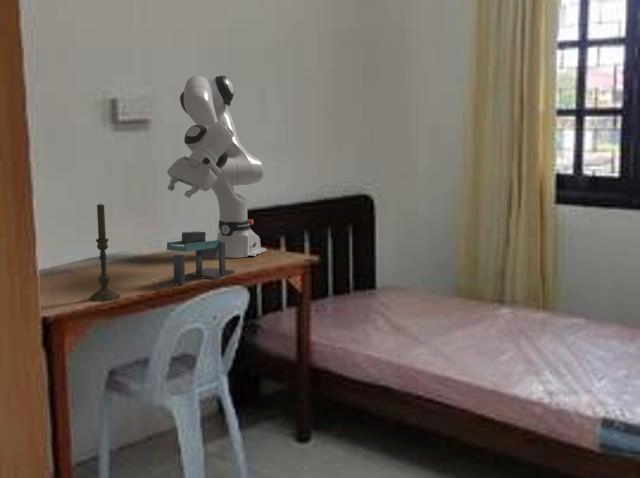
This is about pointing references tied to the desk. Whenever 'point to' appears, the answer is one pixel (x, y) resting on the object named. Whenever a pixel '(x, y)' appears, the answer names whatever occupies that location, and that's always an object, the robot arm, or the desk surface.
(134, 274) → the desk surface
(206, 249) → the beam
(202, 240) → the block
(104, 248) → the candlestick holder
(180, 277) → the beam stand
